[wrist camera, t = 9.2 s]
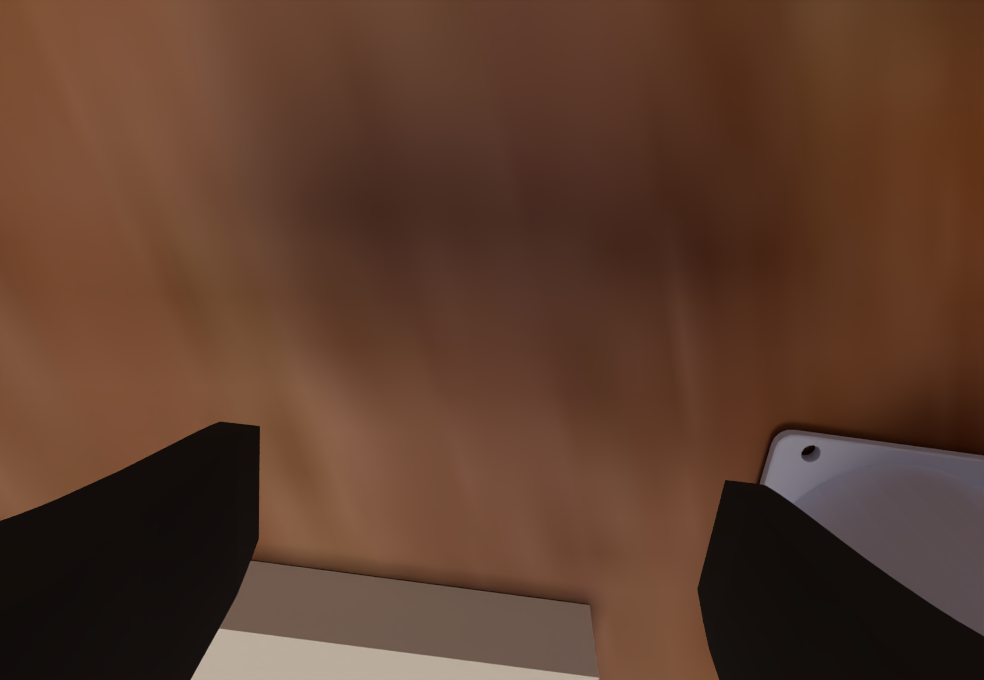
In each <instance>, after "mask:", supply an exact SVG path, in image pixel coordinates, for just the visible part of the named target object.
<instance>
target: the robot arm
mask: <svg viewBox="0 0 984 680" xmlns="http://www.w3.org/2000/svg"><path fill="white" fill-rule="evenodd" d="M811 445H814V446H815V449H814V451H813V452H812V453H810V454H809V455H801V452H802V451H803V449H804V448H805V447H807V446H811ZM259 455H260V426H254V425H245V424H236V423H228V422H218V423H215V424H213V425H210V426H208V427H206V428H204V429H202V430H200V431H197V432H195V433H193V434H191V435H189V436H187V437H185V438H183V439H182V440H180V441H178V442H176V443H174V444H172V445H170V446H168V447H166V448H164V449H162V450H160V451H158V452H156V453H154V454H152V455H150V456H148V457H146V458H144V459H142V460H140V461H138V462H136V463H134V464H132V465H130V466H128V467H126V468H124V469H122V470H120V471H118V472H116V473H114V474H112V475H109V476H107V477H105V478H103V479H101V480H98V481H96V482H94V483H92V484H90V485H87V486H85V487H83V488H81V489H79V490H76V491H74V492H72V493H70V494H68V495H65V496H63V497H61V498H59V499H56V500H54V501H52V502H49V503H47V504H44V505H42V506H39V507H37V508H34V509H32V510H29V511H26V512H24V513H21V514H19V515H16V516H13V517H10V518H7V519H5V520H2V521H0V680H191V678H192V676H193V675H194V673H195V671H196V669H197V667H198V666H199V664H200V662H201V660H202V658H203V657H204V655H205V653H206V651H207V650H208V648H209V646H210V644H211V642H212V641H213V639H214V637H215V635H216V633H217V631H218V630H219V628H220V626H221V624H222V622H223V620H224V619H225V617H226V615H227V613H228V611H229V609H230V608H231V606H232V604H233V602H234V600H235V598H236V596H237V594H238V592H239V589H240V587H241V584H242V582H243V579H244V577H245V574H246V572H247V569H248V566H249V564H250V561H251V558H252V556H253V553H254V550H255V548H256V545H257V542H258V539H259ZM698 595H699V600H700V606H701V611H702V617H703V622H704V627H705V632H706V637H707V641H708V646H709V650H710V653H711V656H712V659H713V662H714V665H715V668H716V671H717V674H718V677H719V680H984V455H976V454H969V453H962V452H954V451H947V450H940V449H932V448H925V447H917V446H910V445H903V444H895V443H888V442H881V441H873V440H866V439H859V438H851V437H844V436H837V435H829V434H822V433H815V432H807V431H800V430H785V431H783V432H780V433H779V434H778V435H777V436H776V437H775V438H774V439H773V441H772V443H771V447H770V450H769V453H768V457H767V460H766V464H765V467H764V470H763V474H762V477H761V481H760V484H754V483H745V482H737V481H728V480H725V484H724V488H723V491H722V495H721V499H720V503H719V507H718V511H717V515H716V519H715V523H714V527H713V530H712V534H711V538H710V542H709V546H708V550H707V554H706V558H705V562H704V566H703V570H702V573H701V577H700V581H699V585H698Z"/></svg>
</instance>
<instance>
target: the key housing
mask: <svg viewBox="0 0 984 680" xmlns="http://www.w3.org/2000/svg"><path fill="white" fill-rule="evenodd" d="M191 680H599V672H598V664H597V657H596V649H595V642H594V634H593V627H592V619H591V612H590V605H585V604H577V603H570V602H562V601H555V600H547V599H539V598H532V597H524V596H516V595H509V594H501V593H494V592H486V591H478V590H471V589H463V588H455V587H448V586H440V585H433V584H425V583H417V582H410V581H402V580H394V579H387V578H379V577H372V576H364V575H356V574H349V573H341V572H333V571H326V570H318V569H311V568H303V567H295V566H288V565H280V564H272V563H265V562H257V561H250V564H249V566H248V569H247V572H246V574H245V577H244V579H243V582H242V584H241V587H240V589H239V592H238V594H237V596H236V598H235V600H234V602H233V604H232V606H231V608H230V609H229V611H228V613H227V615H226V617H225V619H224V620H223V622H222V624H221V626H220V628H219V630H218V631H217V633H216V635H215V637H214V639H213V641H212V642H211V644H210V646H209V648H208V650H207V651H206V653H205V655H204V657H203V658H202V660H201V662H200V664H199V666H198V667H197V669H196V671H195V673H194V675H193V676H192V678H191Z"/></svg>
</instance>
